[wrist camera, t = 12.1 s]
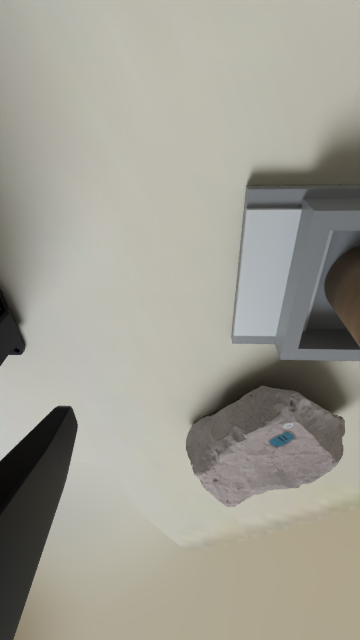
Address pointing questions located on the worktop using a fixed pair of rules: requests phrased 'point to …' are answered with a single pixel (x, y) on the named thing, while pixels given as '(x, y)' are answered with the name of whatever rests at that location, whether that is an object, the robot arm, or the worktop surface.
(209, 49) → the worktop surface
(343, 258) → the round tan cylinder
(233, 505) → the stone
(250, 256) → the cradle
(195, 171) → the worktop surface
